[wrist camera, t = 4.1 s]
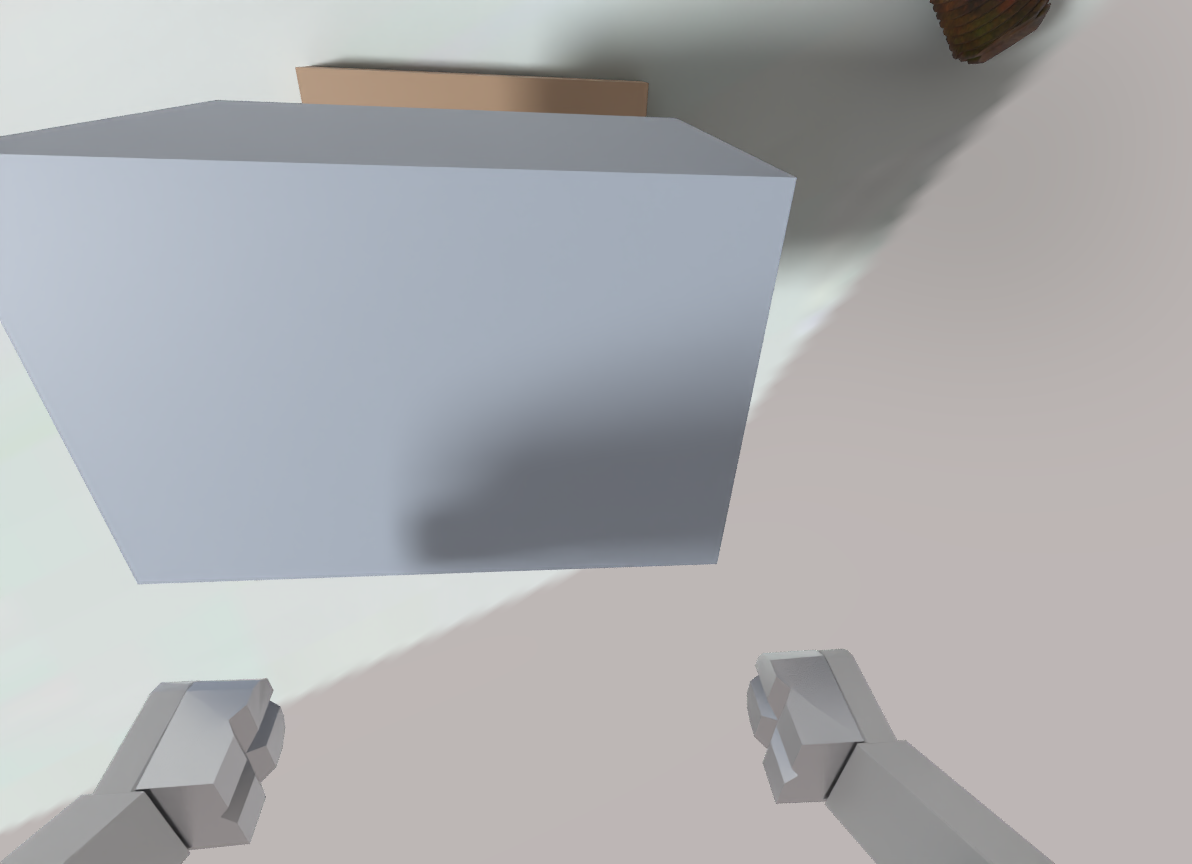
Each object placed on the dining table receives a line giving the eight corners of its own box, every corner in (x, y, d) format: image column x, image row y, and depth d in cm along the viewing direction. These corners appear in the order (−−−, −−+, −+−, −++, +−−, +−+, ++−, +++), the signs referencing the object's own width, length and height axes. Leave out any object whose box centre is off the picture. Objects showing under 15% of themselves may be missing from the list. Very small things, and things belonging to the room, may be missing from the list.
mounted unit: (308, 66, 23) (-156, 106, 8) (642, 81, 24) (837, 142, 9) (352, 305, 28) (131, 621, 13) (626, 307, 29) (731, 597, 14)
